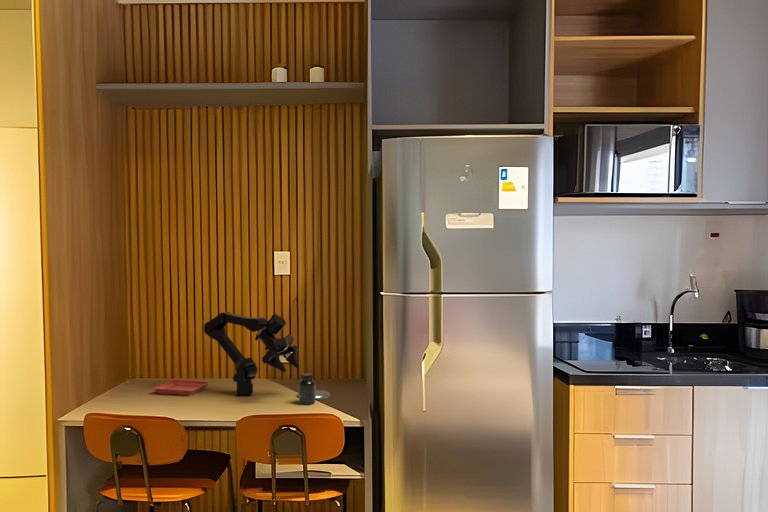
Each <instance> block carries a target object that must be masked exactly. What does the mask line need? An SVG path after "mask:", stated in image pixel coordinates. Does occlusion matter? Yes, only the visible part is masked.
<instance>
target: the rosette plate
mask: <svg viewBox="0 0 768 512" xmlns="http://www.w3.org/2000/svg"><path fill="white" fill-rule="evenodd" d="M297 396H298V397H299V392H297ZM330 396H331V392H329V391H327V390H324V389H323V390H322V389H315V399H317V400H325V399H328V398H330ZM298 397H297V398H298Z"/></svg>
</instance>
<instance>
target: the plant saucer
mask: <svg viewBox="0 0 768 512" xmlns="http://www.w3.org/2000/svg"><path fill="white" fill-rule="evenodd" d="M209 384H210V382H209V381H200V380H199V381H198V380H196V381H195V380H183V379H182V380H181V379H180V380H178V379H172V380H169V381H167V382H165V383H162V384H160V385H157V386H155V387H153V389H154V390H155V392H156V393H158V394H159V393H162V394H161V395H166V394H178V395H177V396H185V395H190V396H191V395H194V394H196V393H199V392H201V391H202V389H203V390H205V388H207V386H208V385H209Z"/></svg>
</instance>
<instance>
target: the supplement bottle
mask: <svg viewBox="0 0 768 512" xmlns="http://www.w3.org/2000/svg"><path fill="white" fill-rule="evenodd" d="M300 377H301V380H300V381H299V382H298V393H299V398H298V404H299V405H301V404H302V405H301V406H312V405H311V404H313V405H315V404H316V400H315V390H316V381H315V380H313V379H314V375H313V373H310V372H309V373H302V374H301V376H300ZM314 403H315V404H314Z"/></svg>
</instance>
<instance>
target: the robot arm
mask: <svg viewBox="0 0 768 512" xmlns="http://www.w3.org/2000/svg"><path fill="white" fill-rule="evenodd" d="M228 324H233V325H237V326H241V327H244V328H246V329H247V330H248V331H250V332H252V333H255V339H254V340H255V341H261V343H263V345H264V349H265V351H267V352H266V353H265V354H264V355H263V356H262V357H261V361H262V363H263V364H264V365H267V366H270V367H272V368H275V369H276V370H279V371H281V372H283V373H286V372H287V369H286V367H285V365H283V363H282V361H281V359H280V357H281V356H282V357H283V358H284V359H285V360H286V362H288V363H289V364H290V365H292V366H293V367H294V368H296V369H299V368H300V364H299V361H298V359H297V352H298V350H299V348H298V346H297V345H296V344H293V343H294V339H295V338H294V336H293V335H292V334H287V335H285V336H284V337H281V338H280V337H278V338H277V337H276V336H275V335H278V334H279V333H280V332H281V331H282V330H283V329H284V328H285V326H286V325H287V321H286V319H284V318H282V317H281V316H279V315H278V314H277V313H276V314H275V313H273V314H272V315H271V318H269V319H268V320H266V318H265V317H263V316H258V317H257V316H256V317H255V316H254V317H253V316H252V317H248V316H245V315H240V314H236V313H232V312H229V311H224V312H220V313H219V314H217V315H216V316H215V317H214V318H212V319H210V320H209V321H207V322H205V323H204V325H203V332H204V334H206V336H208V337H209V338H211V339H213V340H214V341H216V342H217V344H218V345H220V347H221V348H222V349H223V351H224V352H225V353H226V354H227V356H228V357H229V358H230V360H231V361H232V362H233V364H234V365H235V367H234V368H235V371H236V372H235V374H234V375H233V376H232V379H233V382H235V383H236V393H235V396H236V397H246V396H247V397H248V396H249V397H251V396H252V394H253V393H254V383H253V380H255V379H256V375H257V374H258V366H257V363H256V362H255V361H254V359H253V358H252V357H245V355H243V354H242V352H241V351H240V350H239V349H238V347H237V346H236V345H235V343H234V342H233V341H232V340H231V338H229V336H228V335H227V332H226V326H227V325H228ZM256 332H259V333H256ZM290 344H292V345H290Z"/></svg>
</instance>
